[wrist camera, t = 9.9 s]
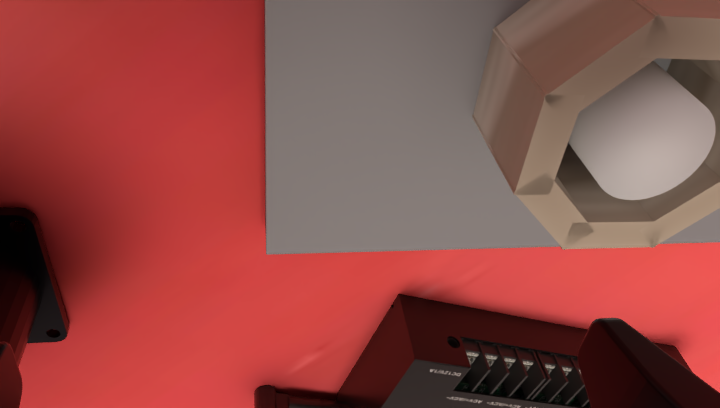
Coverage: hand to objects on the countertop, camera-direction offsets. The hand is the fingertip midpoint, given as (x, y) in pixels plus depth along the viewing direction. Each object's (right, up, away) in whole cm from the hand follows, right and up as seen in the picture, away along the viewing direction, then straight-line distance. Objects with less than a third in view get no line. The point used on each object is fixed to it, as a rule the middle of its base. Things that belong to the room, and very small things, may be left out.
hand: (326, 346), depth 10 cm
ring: (+8, +6, +10) cm, 14 cm away
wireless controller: (+6, -7, +22) cm, 24 cm away
